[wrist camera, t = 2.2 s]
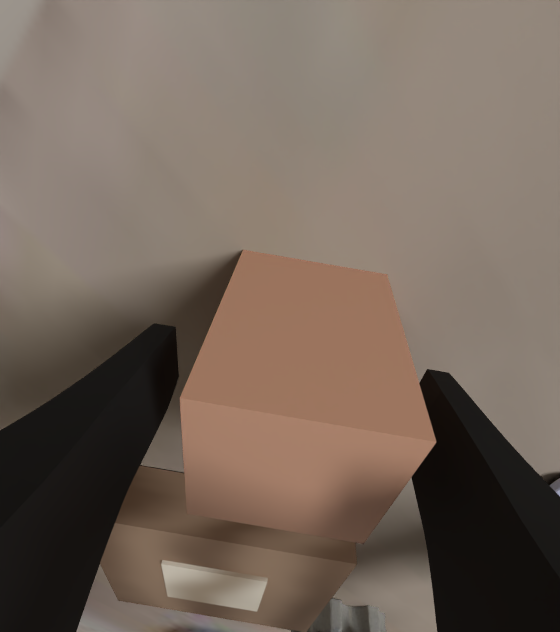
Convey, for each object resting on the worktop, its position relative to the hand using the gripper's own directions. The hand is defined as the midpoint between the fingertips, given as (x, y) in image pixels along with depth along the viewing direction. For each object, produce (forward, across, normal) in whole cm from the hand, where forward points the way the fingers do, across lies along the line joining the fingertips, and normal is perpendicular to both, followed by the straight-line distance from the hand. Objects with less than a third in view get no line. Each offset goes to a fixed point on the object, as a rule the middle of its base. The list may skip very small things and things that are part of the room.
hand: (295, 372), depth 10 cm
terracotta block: (+3, 0, 0) cm, 3 cm away
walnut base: (+3, +2, +19) cm, 19 cm away
